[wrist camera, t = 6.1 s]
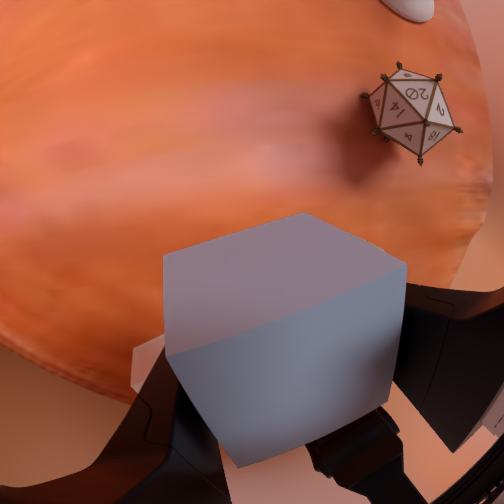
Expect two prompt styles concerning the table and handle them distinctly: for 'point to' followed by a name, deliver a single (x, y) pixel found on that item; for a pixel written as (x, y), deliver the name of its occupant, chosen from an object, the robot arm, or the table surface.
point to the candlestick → (412, 9)
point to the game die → (411, 111)
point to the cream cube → (145, 360)
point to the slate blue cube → (282, 332)
